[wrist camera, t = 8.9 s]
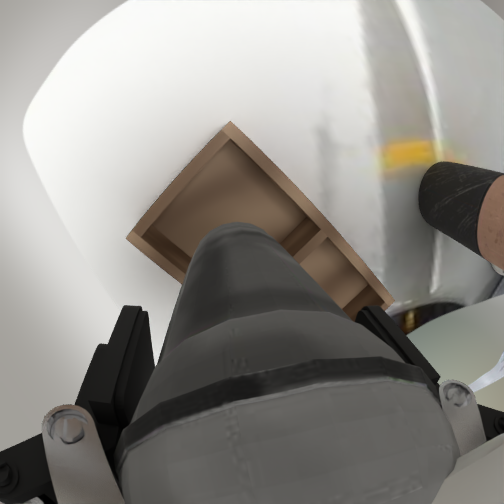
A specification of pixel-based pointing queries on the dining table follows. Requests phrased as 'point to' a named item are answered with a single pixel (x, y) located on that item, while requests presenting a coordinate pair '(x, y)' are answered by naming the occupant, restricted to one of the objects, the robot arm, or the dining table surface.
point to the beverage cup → (278, 395)
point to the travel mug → (466, 207)
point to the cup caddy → (252, 220)
